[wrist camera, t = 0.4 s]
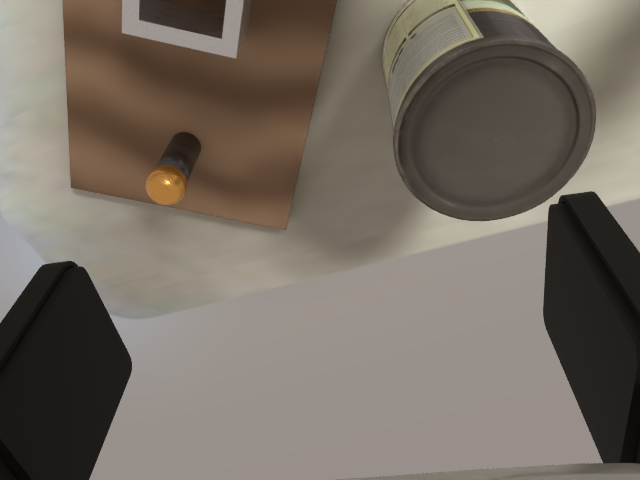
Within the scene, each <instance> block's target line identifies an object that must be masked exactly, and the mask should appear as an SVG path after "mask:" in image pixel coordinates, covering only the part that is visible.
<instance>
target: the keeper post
mask: <svg viewBox="0 0 640 480" xmlns="http://www.w3.org/2000/svg"><path fill="white" fill-rule="evenodd" d="M200 152H201V143H200V141H199V140H198V138H197V137H196V136H194V135H193V134H191V133H188V132H179V133H177V134H175V135H174V136H173V137H172V139H171V141H170V142H169V144H168V146H167V148H166V149H165V151H164V153H163V155H162V157H161V158H160V160H159V162H158V164H157V166H156V167H155V168H154V169H152V170H151V171H150V173H149V174H148V176H147V178H146V183H145V186H146V191H147V193H148V195H149V197H150V198H151V199H152V200H153V201H155V202H156V203H158V204H161V205H172V204H175V203H177V202H179V201H180V200H181V199H182V198H183V197H184V195H185V193H186V190H187V182H188V179H189V177H190V175H191V173H192V170H193V168H194V166H195V164H196V161H197V159H198V157H199V155H200Z"/></svg>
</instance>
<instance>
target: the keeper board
mask: <svg viewBox="0 0 640 480" xmlns="http://www.w3.org/2000/svg"><path fill="white" fill-rule="evenodd" d="M164 1H169V2H173V3H177V4H182V5H186V6H190V7H195V8H199V9H203V10H208V11H212V12H216V13H220V14H225V7H226V0H164ZM336 2H337V0H252V5H251V12H250V19H249V26H248V33H247V37H246V39H245V41H244V43H243V45H242V47H241V49H240V51H239V54H238V56H237V58H236V59H235V58H231V57H227V56H222V55H218V54H213V53H209V52H204V51H200V50H195V49H191V48H187V47H182V46H178V45H173V44H169V43H164V42H160V41H155V40H151V39H147V38H142V37H138V36H133V35H129V34H124V33H122V0H63V18H64V40H65V62H66V84H67V106H68V128H69V150H70V172H71V188H76V189H81V190H86V191H91V192H96V193H101V194H106V195H111V196H116V197H122V198H127V199H132V200H137V201H142V202H147V203H152V204H157V205H161V204H158V203H156V202H155V201H153V200H152V199H151V198H150V197H149V195H148V193H147V191H146V186H145V183H146V178H147V176H148V174H149V173H150V171H151V170H152V169H154V168H155V167H156V166H157V164H158V162H159V160H160V158H161V157H162V155H163V153H164V151H165V149H166V148H167V146H168V144H169V142H170V141H171V139H172V137H173V136H174V135H175V134H177V133H179V132H188V133H191V134H193V135H194V136H196V137H197V138H198V140H199V141H200V143H201V152H200V155H199V157H198V159H197V161H196V164H195V166H194V168H193V170H192V173H191V175H190V177H189V179H188V182H187V190H186V193H185V195H184V197H183V198H182V199H181V200H180V201H179V202H177V203H175V204H172V205H162V206H167V207H172V208H177V209H182V210H187V211H192V212H197V213H202V214H207V215H213V216H218V217H223V218H228V219H233V220H238V221H243V222H248V223H253V224H258V225H263V226H268V227H273V228H278V229H283V230H286V227H287V222H288V218H289V213H290V209H291V204H292V200H293V195H294V191H295V186H296V182H297V177H298V173H299V168H300V164H301V159H302V155H303V150H304V146H305V141H306V137H307V132H308V128H309V123H310V119H311V114H312V110H313V105H314V101H315V96H316V92H317V87H318V83H319V78H320V74H321V69H322V65H323V60H324V56H325V51H326V47H327V42H328V38H329V33H330V29H331V24H332V20H333V15H334V11H335V6H336Z"/></svg>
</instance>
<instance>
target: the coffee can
mask: <svg viewBox="0 0 640 480" xmlns="http://www.w3.org/2000/svg"><path fill="white" fill-rule="evenodd" d="M382 60H383V72H384V75H385V79H386V83H387V89H388V96H389V103H390V110H391V117H392V124H393V130H394V137H393V146H394V156H395V161H396V165H397V168H398V171H399V173H400V175H401V177H402V179H403V181H404V183H405V184H406V186H407V187H408V189H409V190H410V191H411V192H412V194H413V195H414V196H415V197H416V198H417V199H419V200H420V201H421V202H422V203H424V204H425V205H427V206H428V207H430V208H431V209H433V210H435V211H437V212H439V213H441V214H444V215H447V216H450V217H453V218H457V219H461V220H469V221H490V220H497V219H502V218H507V217H511V216H514V215H517V214H520V213H523V212H526V211H528V210H530V209H533V208H534V207H536V206H538V205H540V204H542V203H543V202H545V201H546V200H548V199H549V198H550V197H552V196H553V195H554V194H555V193H557V192H558V191H559V190H560V189H561V188H563V186H564V185H565V184H566V183H567V182H568V181H569V180H570V179H571V178H572V177H573V175H574V174H575V173H576V172H577V170H578V169H579V167H580V166H581V164H582V163H583V161H584V160H585V158H586V156H587V153H588V151H589V149H590V146H591V143H592V140H593V136H594V131H595V122H596V109H595V100H594V96H593V93H592V90H591V88H590V85H589V83H588V81H587V79H586V77H585V76H584V74H583V73H582V72H581V70H580V69H579V68H578V67H577V66H576V65H575V63H574V62H573V61H572V60H571V59H569V58H568V57H567V56H566V55H565V54H563V53H562V52H561V51H559V50H557V49H556V48H555V47H554V46H553V45H552V43H551V42H550V41H549V40H548V39H547V38H546V37H544V35H543V34H542V33H541V32H540V31H539V30H538V29H537V28H536V27H535V26H534V25H533V24H532V23H531V22H530V21H529V20H528V18H527V17H526V16H525V15H524V14H523V13H522V12H521V11H520V10H519V9H518V8H517V6H516V5H515V4H514V2H513V1H512V0H409V1H408V2H407V3H406V4H405V5H404V6H403V7H402V8H401V10H400V11H399V12H398V13H397V14H396V16H395V17H394V19H393V21H392V23H391V25H390V27H389V29H388V32H387V35H386V38H385V42H384V45H383V57H382Z"/></svg>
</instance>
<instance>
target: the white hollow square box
mask: <svg viewBox="0 0 640 480" xmlns="http://www.w3.org/2000/svg"><path fill="white" fill-rule="evenodd" d="M251 5H252V0H226V7H225V14H220V13H216V12H212V11H208V10H203V9H199V8H195V7H190V6H186V5H182V4H177V3H173V2H169V1H164V0H122V33H124V34H129V35H133V36H138V37H142V38H147V39H151V40H155V41H160V42H164V43H169V44H173V45H178V46H182V47H187V48H191V49H195V50H200V51H204V52H209V53H213V54H218V55H222V56H227V57H231V58H235V59H236V58H237V56H238V54H239V51H240V49H241V47H242V45H243V43H244V41H245V39H246V37H247V33H248V26H249V19H250V12H251Z"/></svg>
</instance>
